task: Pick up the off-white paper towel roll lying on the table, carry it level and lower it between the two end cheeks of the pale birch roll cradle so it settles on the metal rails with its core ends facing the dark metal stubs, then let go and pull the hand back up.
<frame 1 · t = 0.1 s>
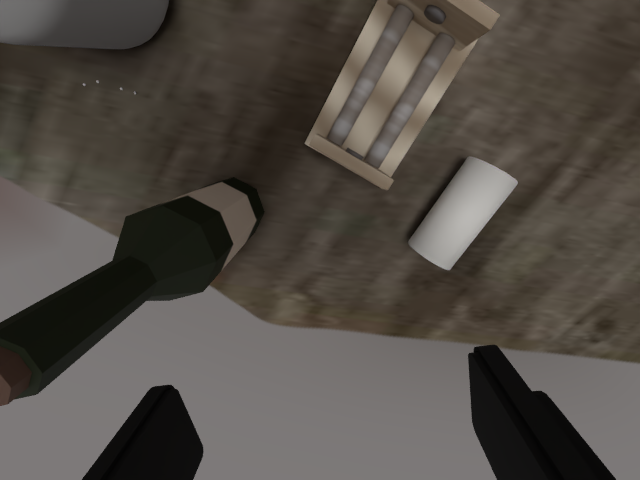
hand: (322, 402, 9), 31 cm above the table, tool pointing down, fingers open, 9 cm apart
paper roll: (449, 208, 38), on the table
wine bottle: (234, 208, 40), on the table
roll cradle: (384, 96, 35), on the table
jar: (116, 0, 33), on the table
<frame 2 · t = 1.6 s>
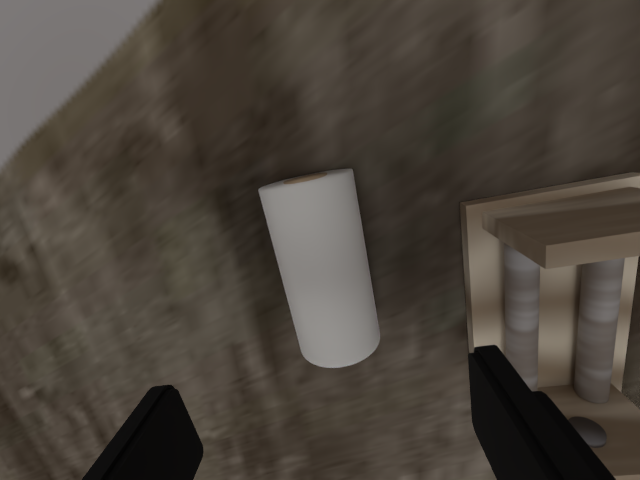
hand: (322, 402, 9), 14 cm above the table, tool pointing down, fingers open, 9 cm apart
paper roll: (340, 249, 23), on the table, tilted 21°
roll cradle: (539, 301, 23), on the table
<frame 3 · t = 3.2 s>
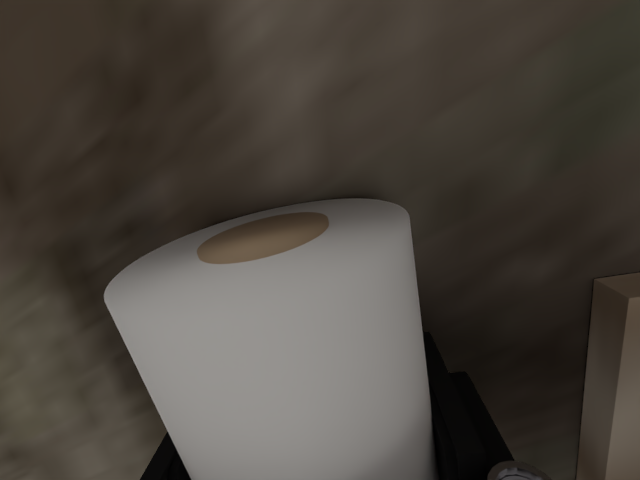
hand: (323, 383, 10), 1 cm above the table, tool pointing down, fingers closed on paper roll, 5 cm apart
paper roll: (326, 361, 11), on the table, touching gripper
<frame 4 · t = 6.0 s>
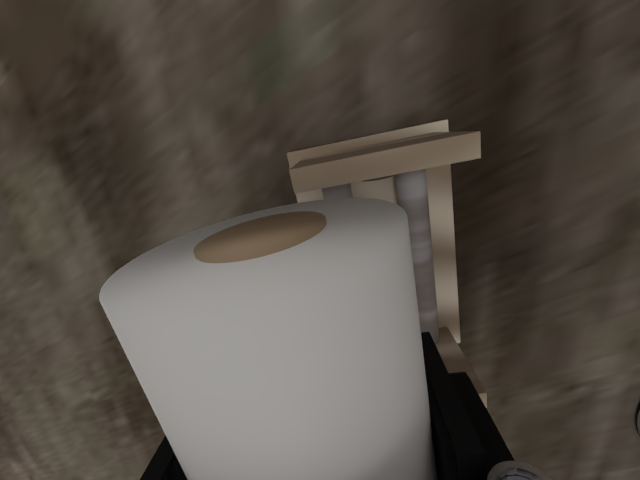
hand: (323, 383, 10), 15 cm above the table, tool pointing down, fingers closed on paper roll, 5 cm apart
paper roll: (324, 361, 11), point 14 cm above the table, touching gripper
roll cradle: (379, 251, 24), on the table
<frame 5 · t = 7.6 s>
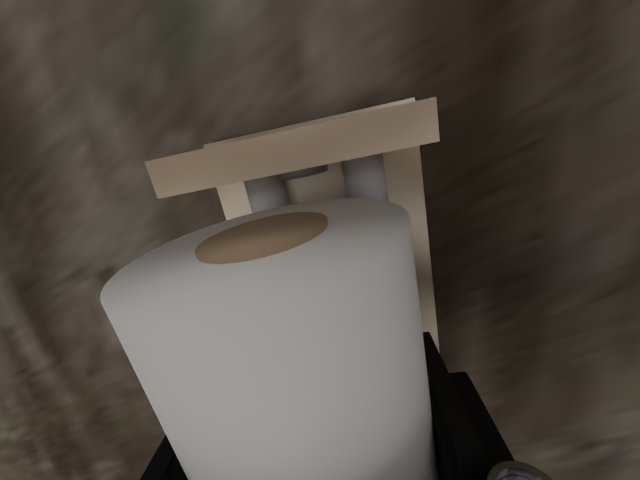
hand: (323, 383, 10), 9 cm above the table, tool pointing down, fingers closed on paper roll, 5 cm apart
paper roll: (325, 362, 11), point 8 cm above the table, touching gripper
roll cradle: (336, 272, 19), on the table
when the fingers open (5 cm above the table, at t = 8.9 s): paper roll drops 1 cm, resting on roll cradle.
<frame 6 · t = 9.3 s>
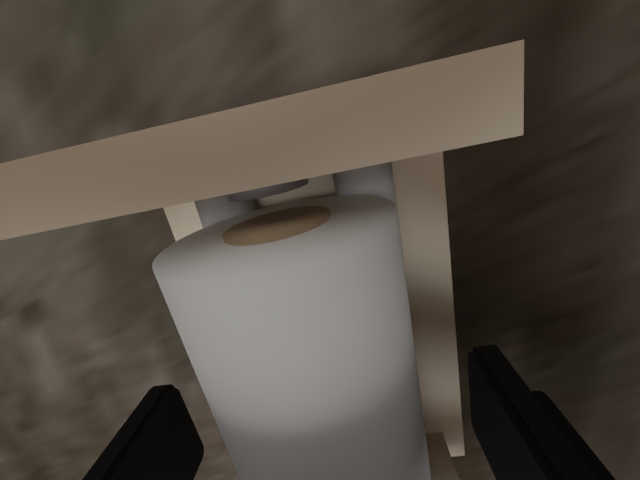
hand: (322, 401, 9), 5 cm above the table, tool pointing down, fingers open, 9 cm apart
paper roll: (336, 340, 12), point 2 cm above the table, tilted 7°, touching roll cradle
roll cradle: (328, 309, 15), on the table
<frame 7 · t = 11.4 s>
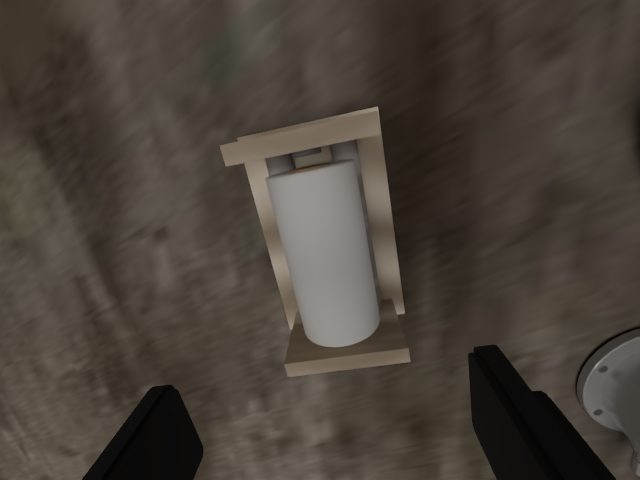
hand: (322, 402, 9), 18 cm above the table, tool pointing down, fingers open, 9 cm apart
paper roll: (332, 237, 25), point 2 cm above the table, tilted 7°, touching roll cradle
roll cradle: (328, 229, 27), on the table
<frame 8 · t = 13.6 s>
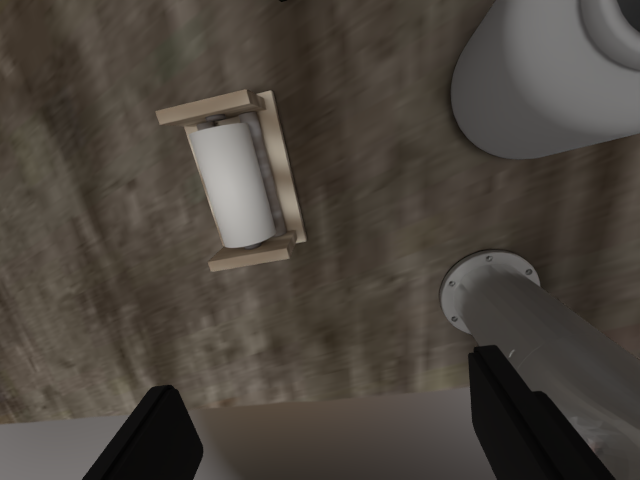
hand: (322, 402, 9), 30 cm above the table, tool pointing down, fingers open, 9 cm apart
paper roll: (247, 182, 35), point 2 cm above the table, tilted 8°, touching roll cradle
roll cradle: (249, 179, 38), on the table
jar: (506, 68, 32), on the table
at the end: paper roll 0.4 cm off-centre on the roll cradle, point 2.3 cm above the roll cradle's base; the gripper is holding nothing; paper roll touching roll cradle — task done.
